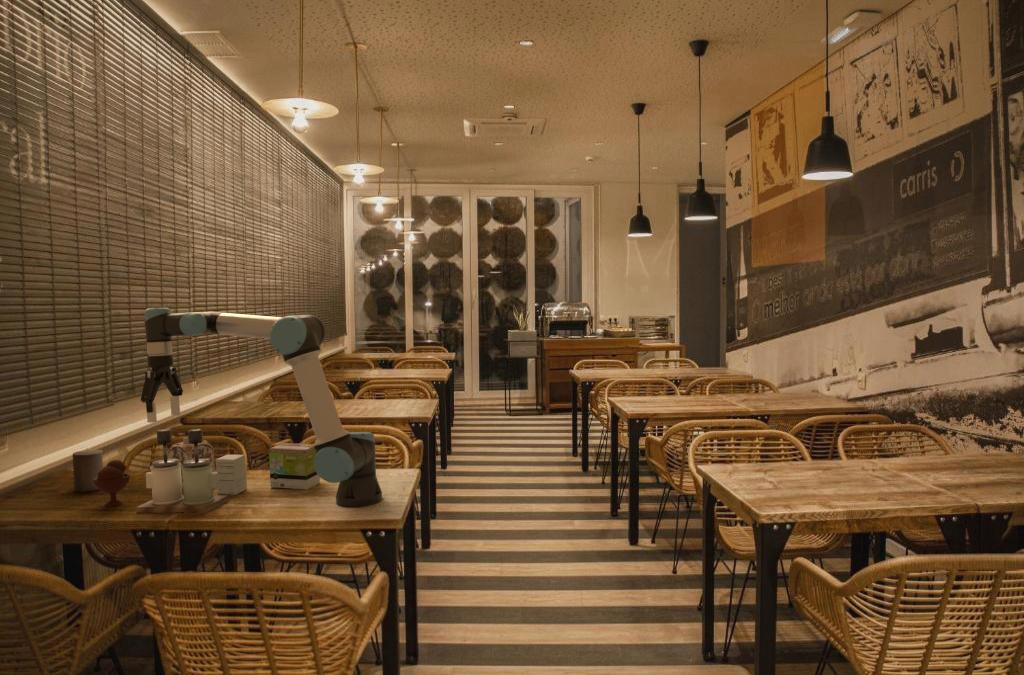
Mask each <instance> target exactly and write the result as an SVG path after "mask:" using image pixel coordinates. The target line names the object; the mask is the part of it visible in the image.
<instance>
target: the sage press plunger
mask: <svg viewBox="0 0 1024 675" xmlns="http://www.w3.org/2000/svg"><path fill="white" fill-rule="evenodd" d="M203 432H204V431H203V429H202V428H195V429H189V430H188V431H187V437H188V443H189V444H194V455H195V459H194V460H189V461H185V462H184V466H186V467H196V466H203V465H207V464H209V463H210V460H209V459H199V456H198V443H202V442H203V440H204V438H203V437H204V436H203V435H204V434H203Z"/></svg>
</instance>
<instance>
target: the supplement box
mask: <svg viewBox="0 0 1024 675" xmlns="http://www.w3.org/2000/svg"><path fill="white" fill-rule="evenodd" d="M246 462H247V461H246V455H245V454H225V455H223V456H221V457H219V458H216V459H215V465H216V466H215V471H216V472H218V479H219V487H218V488H217V494H218V495H232V496H233V495H236V496H237V495H238V494H239V493H242V492H244V491H246V490H247V489H248V484H247V465H246Z"/></svg>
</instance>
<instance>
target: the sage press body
mask: <svg viewBox="0 0 1024 675" xmlns="http://www.w3.org/2000/svg"><path fill="white" fill-rule="evenodd" d="M181 468H182V474H183V489H182V493H183V495H184V500H183V504H184V505H201V504H206V503H210V502H212V501H214V500H215V498H214V496H213V495H214V489H218V487H219V479H218V472H217V471H215V472H212V463H209V464H207V465H203V466H196V467H186V466H182V467H181Z"/></svg>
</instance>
